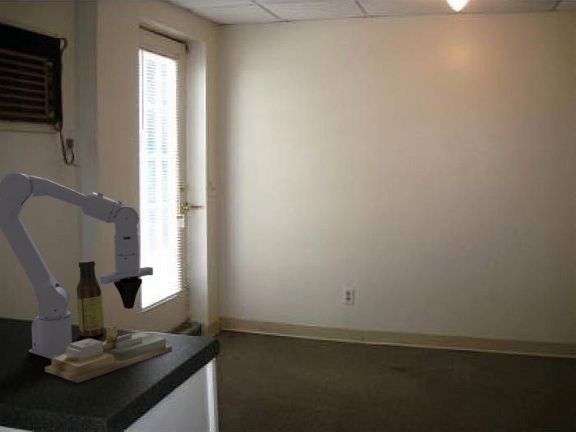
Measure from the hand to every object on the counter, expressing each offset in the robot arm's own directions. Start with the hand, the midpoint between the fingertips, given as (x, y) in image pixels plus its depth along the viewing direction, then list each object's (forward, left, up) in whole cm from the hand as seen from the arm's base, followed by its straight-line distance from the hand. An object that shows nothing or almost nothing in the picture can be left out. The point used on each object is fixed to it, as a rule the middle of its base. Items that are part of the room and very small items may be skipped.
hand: (128, 307), depth 145 cm
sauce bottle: (-16, 0, -10) cm, 19 cm away
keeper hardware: (+6, -12, -6) cm, 14 cm away
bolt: (+6, -13, -6) cm, 15 cm away
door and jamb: (+6, -10, -9) cm, 15 cm away
